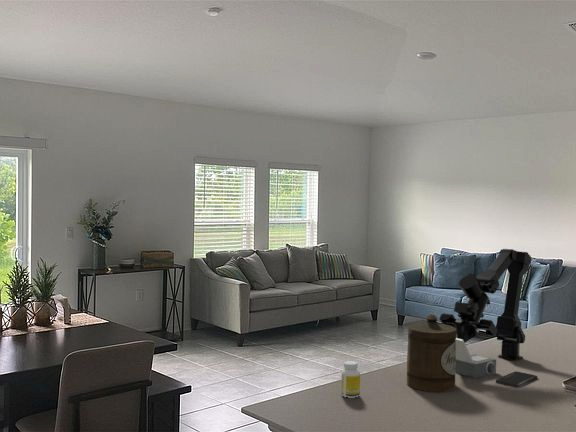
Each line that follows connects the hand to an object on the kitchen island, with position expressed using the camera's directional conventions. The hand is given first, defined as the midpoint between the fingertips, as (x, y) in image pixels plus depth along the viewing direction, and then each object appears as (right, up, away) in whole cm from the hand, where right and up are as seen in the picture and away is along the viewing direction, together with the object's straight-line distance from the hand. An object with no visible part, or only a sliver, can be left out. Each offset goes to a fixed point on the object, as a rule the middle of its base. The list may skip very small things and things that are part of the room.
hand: (458, 345), depth 202 cm
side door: (+1, -1, +1) cm, 2 cm away
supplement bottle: (-37, -11, -20) cm, 43 cm away
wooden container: (-11, -11, -8) cm, 17 cm away
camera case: (+7, -10, +6) cm, 14 cm away
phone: (+18, -11, -3) cm, 21 cm away
